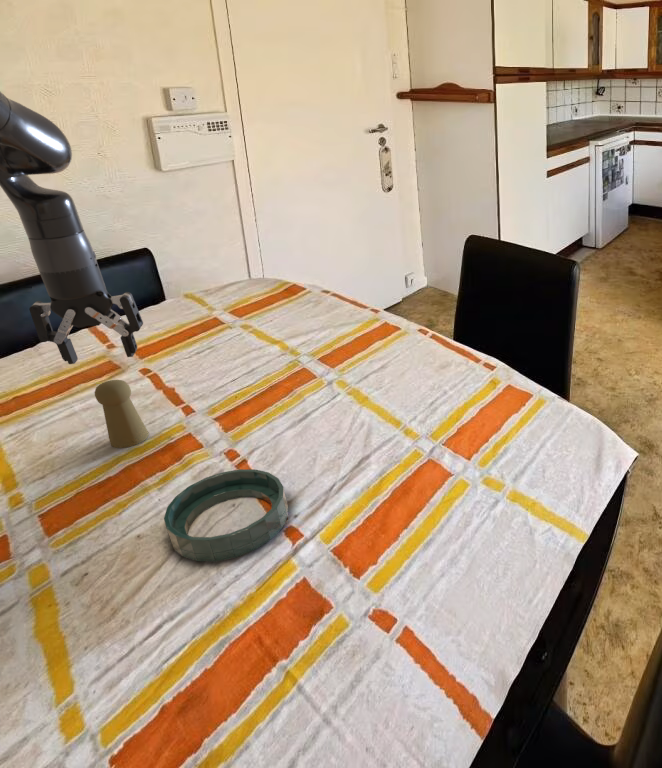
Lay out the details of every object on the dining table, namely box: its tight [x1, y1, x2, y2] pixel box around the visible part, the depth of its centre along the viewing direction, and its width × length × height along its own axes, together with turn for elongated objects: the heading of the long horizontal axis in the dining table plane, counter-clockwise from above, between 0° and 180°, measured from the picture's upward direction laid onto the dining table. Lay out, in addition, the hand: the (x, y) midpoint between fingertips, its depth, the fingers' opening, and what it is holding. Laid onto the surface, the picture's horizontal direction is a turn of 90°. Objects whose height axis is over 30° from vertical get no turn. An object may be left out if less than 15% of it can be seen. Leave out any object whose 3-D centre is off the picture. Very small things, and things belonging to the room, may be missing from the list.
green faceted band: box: [163, 468, 289, 562], centre depth 87 cm, size 15×15×5 cm
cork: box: [94, 379, 150, 449], centre depth 107 cm, size 6×6×11 cm
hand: (103, 358), depth 102 cm, fingers open, 8 cm apart
